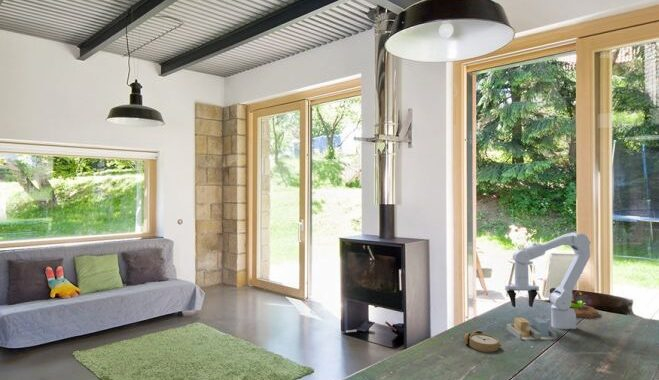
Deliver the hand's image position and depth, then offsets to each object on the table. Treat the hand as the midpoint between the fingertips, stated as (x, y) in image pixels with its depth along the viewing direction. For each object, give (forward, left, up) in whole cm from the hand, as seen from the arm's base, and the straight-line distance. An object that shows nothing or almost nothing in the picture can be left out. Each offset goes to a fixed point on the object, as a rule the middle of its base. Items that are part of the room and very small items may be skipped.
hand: (522, 306), depth 196 cm
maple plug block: (+5, +12, -9) cm, 16 cm away
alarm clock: (+27, +24, -10) cm, 37 cm away
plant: (-36, -24, -10) cm, 45 cm away
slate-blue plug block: (-2, +13, -9) cm, 15 cm away
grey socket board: (+2, +12, -9) cm, 15 cm away
